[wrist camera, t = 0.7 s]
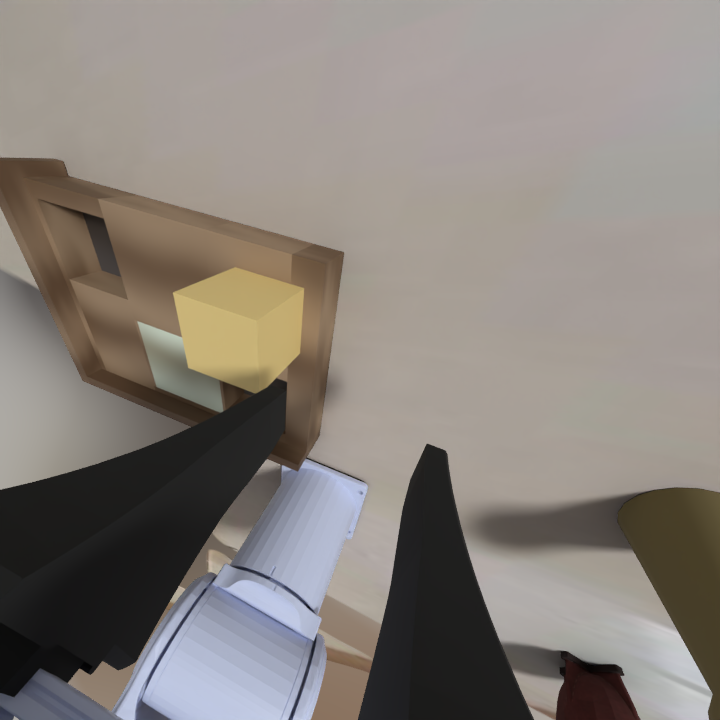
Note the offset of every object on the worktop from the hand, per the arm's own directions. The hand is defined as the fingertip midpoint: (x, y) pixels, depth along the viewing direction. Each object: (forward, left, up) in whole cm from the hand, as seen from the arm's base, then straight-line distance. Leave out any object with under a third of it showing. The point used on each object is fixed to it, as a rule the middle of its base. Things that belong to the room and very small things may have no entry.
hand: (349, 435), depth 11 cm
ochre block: (0, +7, -6) cm, 9 cm away
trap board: (-3, +14, -8) cm, 16 cm away
